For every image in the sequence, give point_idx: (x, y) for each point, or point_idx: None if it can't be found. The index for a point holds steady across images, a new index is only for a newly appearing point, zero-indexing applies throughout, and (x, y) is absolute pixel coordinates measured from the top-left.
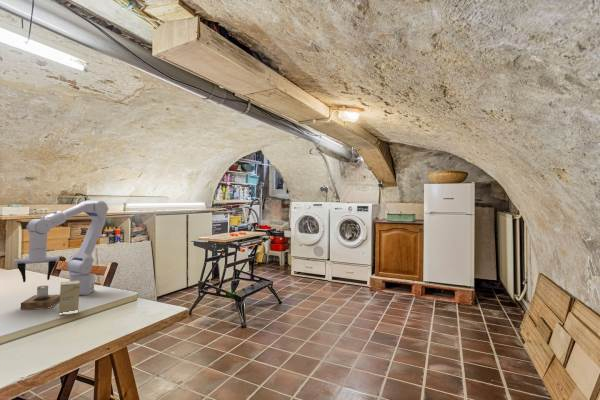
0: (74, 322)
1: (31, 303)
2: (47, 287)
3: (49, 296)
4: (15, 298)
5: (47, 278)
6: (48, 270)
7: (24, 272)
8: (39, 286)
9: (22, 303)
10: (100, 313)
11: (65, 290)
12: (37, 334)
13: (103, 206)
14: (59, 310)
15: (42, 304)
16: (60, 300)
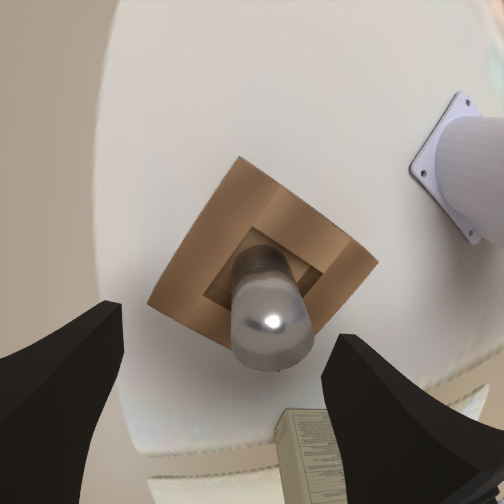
0: None
1: (197, 329)
2: (300, 356)
3: (312, 263)
4: (158, 27)
5: (324, 391)
6: (346, 481)
7: (80, 458)
8: (252, 321)
9: (155, 306)
10: None
11: None
12: (200, 480)
13: None
14: (276, 447)
15: None
16: (282, 480)
